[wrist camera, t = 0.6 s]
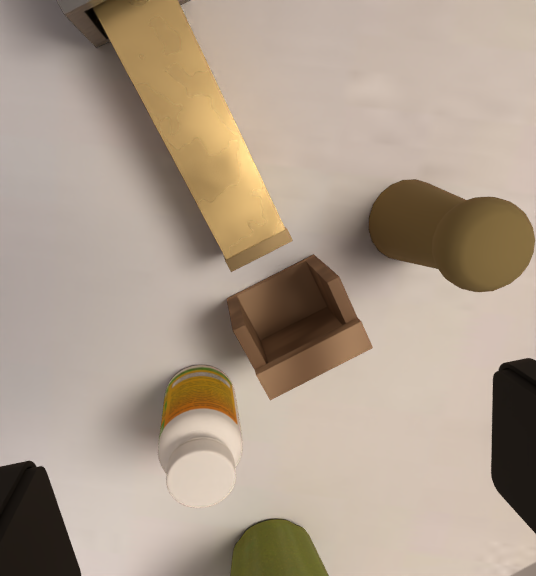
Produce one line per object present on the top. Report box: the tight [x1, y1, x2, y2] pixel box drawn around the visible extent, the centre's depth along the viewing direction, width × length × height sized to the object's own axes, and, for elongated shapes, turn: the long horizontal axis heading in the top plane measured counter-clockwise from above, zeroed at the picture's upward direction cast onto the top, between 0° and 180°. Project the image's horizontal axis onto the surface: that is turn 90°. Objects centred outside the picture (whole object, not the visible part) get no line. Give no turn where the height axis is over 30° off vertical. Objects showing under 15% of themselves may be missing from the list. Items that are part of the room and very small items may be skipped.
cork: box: [369, 179, 535, 292], centre depth 28 cm, size 6×6×11 cm
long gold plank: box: [93, 0, 293, 272], centre depth 25 cm, size 4×24×4 cm, turn 26°
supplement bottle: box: [158, 365, 243, 508], centre depth 30 cm, size 5×5×10 cm
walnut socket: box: [227, 254, 373, 400], centre depth 31 cm, size 7×5×7 cm
